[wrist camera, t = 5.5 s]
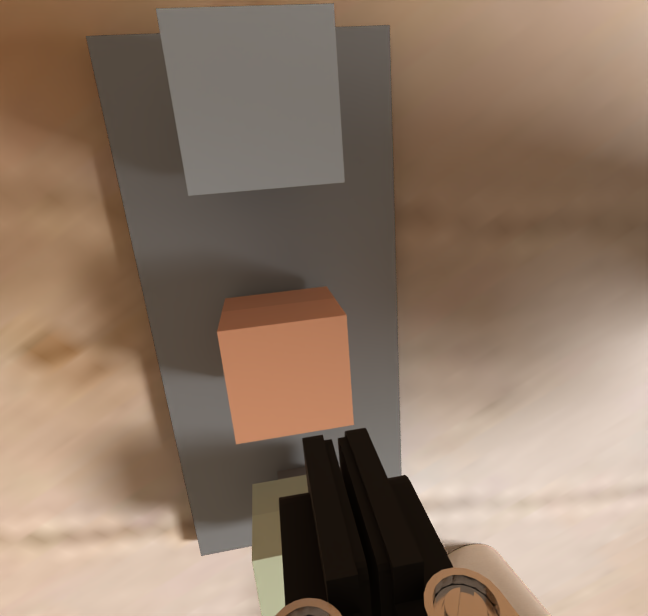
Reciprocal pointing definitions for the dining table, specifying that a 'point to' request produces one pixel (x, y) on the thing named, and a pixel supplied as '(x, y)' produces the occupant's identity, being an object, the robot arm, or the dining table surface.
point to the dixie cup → (499, 577)
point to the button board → (255, 267)
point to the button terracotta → (285, 363)
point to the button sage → (270, 540)
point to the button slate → (254, 95)
